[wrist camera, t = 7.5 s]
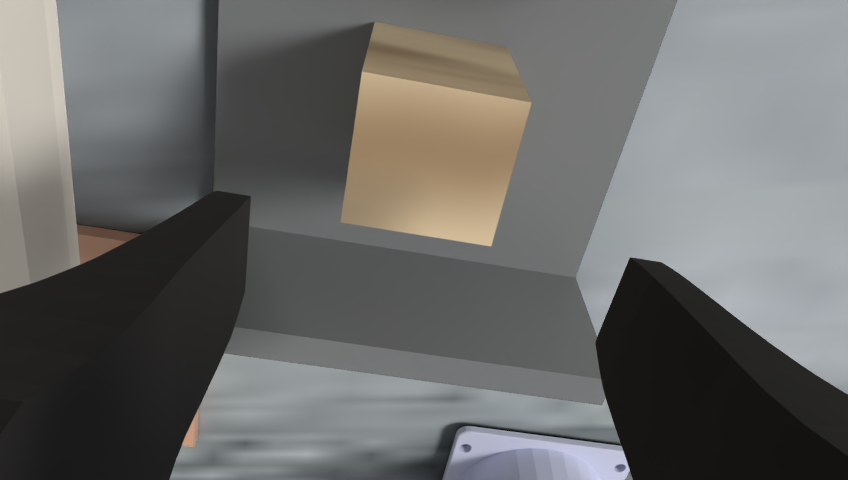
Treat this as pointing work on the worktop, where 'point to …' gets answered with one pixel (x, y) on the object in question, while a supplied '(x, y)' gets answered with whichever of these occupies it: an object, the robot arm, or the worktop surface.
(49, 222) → the cover
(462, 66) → the block
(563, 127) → the case
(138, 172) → the worktop surface
